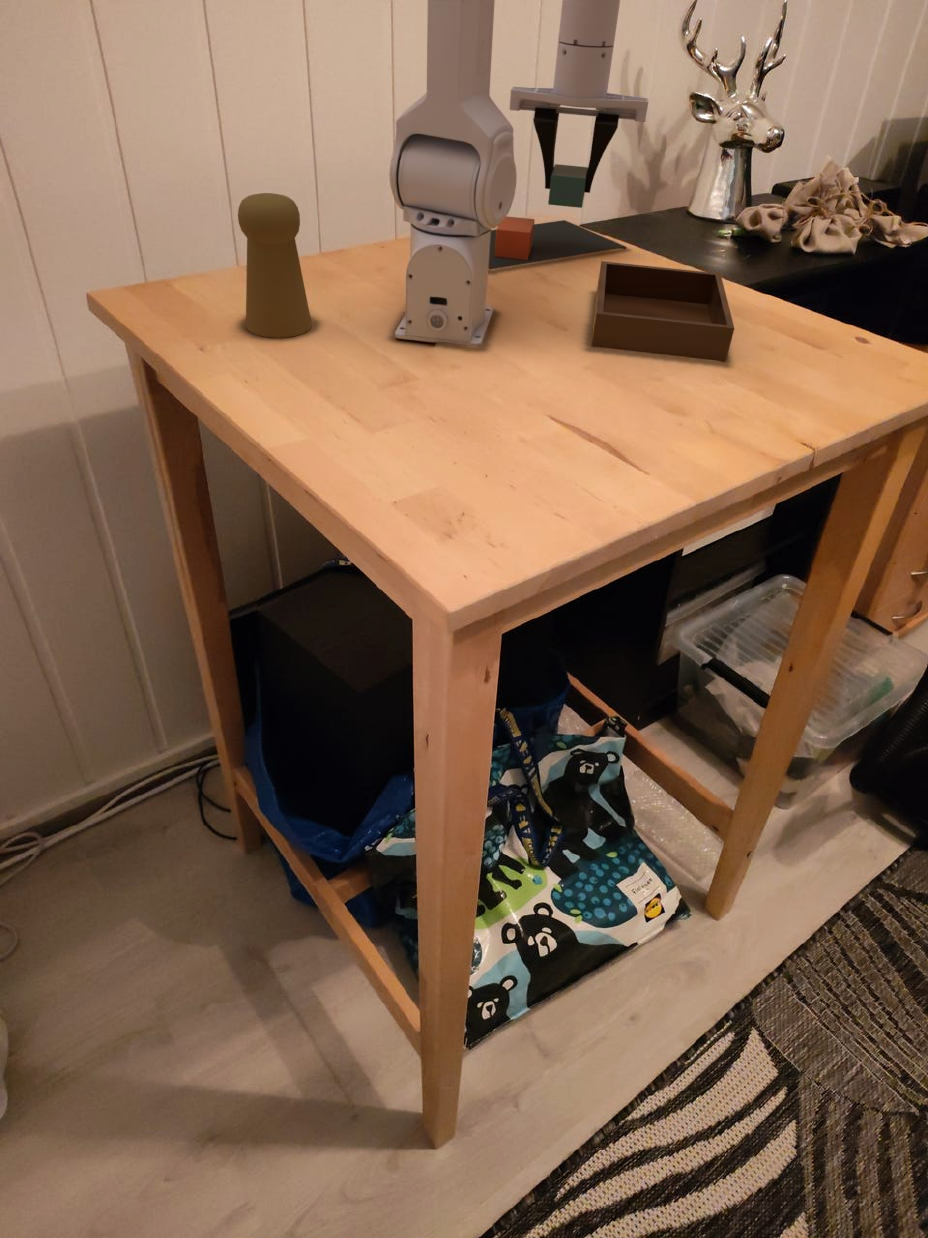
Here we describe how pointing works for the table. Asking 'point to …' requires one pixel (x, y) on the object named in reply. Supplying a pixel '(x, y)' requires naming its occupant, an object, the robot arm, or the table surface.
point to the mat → (555, 244)
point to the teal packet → (567, 185)
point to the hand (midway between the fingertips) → (568, 188)
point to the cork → (273, 267)
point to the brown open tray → (662, 311)
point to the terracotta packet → (514, 238)
